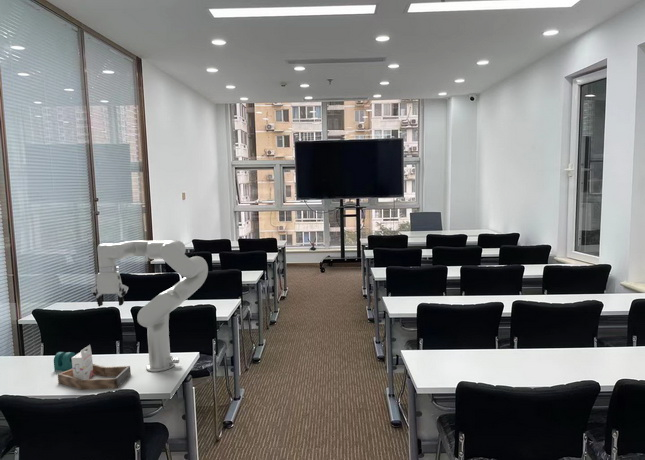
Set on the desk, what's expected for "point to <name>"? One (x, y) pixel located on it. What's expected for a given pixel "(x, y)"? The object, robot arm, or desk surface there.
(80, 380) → the brown angled open frame
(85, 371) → the ink cartridge box
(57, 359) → the bracket
